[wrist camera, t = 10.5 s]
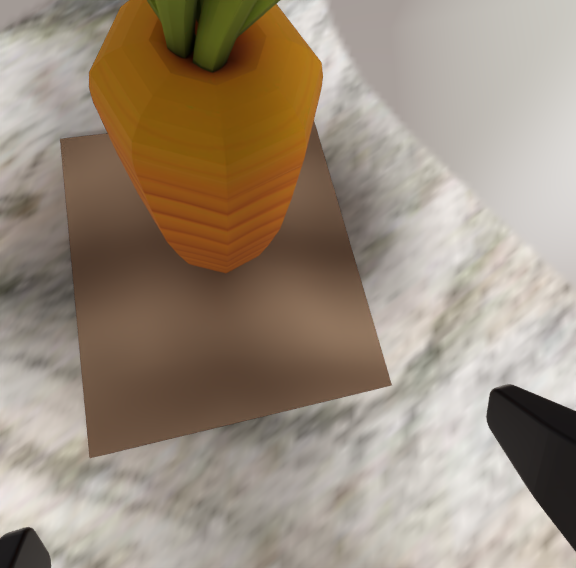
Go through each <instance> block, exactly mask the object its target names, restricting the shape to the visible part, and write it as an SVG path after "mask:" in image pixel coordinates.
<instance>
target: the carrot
mask: <svg viewBox="0 0 576 568" xmlns="http://www.w3.org/2000/svg"><path fill="white" fill-rule="evenodd" d="M279 1H280V0H129V1H128V2H126V3H125V4H124V5H123V6H121V7H120V10H119V12H118V14H117V16H116V18H115V20H114V22H113V24H112V26H111V28H110V30H109V32H108V34H107V36H106V38H105V40H104V43H103V45H102V47H101V49H100V51H99V53H98V55H97V57H96V59H95V61H94V63H93V65H92V67H91V69H90V71H89V89H90V93H91V96H92V100H93V103H94V105H95V107H96V109H97V111H98V113H99V116H100V118H101V120H102V122H103V124H104V126H105V128H106V131H107V133H108V135H109V137H110V139H111V141H112V143H113V146H114V148H115V150H116V152H117V154H118V156H119V158H120V160H121V162H122V164H123V166H124V168H125V170H126V172H127V173H128V175H129V177H130V179H131V181H132V183H133V185H134V187H135V189H136V191H137V193H138V194H139V196H140V198H141V199H142V201H143V203H144V204H145V206H146V208H147V209H148V211H149V213H150V214H151V216H152V218H153V219H154V221H155V223H156V224H157V226H158V228H159V229H160V231H161V233H162V234H163V236H164V238H165V239H166V241H167V242H168V243H169V245H170V246H171V247H172V248H173V249H174V250H175V251H176V253H177V254H178V255H179V256H180V257H182V258H183V259H184V260H185V261H186V262H187V263H188V264H191V265H194V266H198V267H202V268H206V269H210V270H214V271H218V272H222V273H228V272H230V271H232V270H233V269H235V268H237V267H239V266H241V265H243V264H245V263H246V262H248V261H250V260H252V259H254V258H256V257H257V256H259V255H260V254H261V253H262V252H263V251H264V249H265V248H266V247H267V246H268V245H269V244H270V242H271V241H272V240H273V238H274V237H275V235H276V234H277V233H278V231H279V230H280V228H281V225H282V223H283V220H284V217H285V215H286V212H287V209H288V207H289V204H290V202H291V199H292V196H293V193H294V189H295V186H296V183H297V180H298V177H299V174H300V171H301V167H302V164H303V161H304V158H305V154H306V150H307V146H308V142H309V138H310V133H311V129H312V125H313V121H314V117H315V113H316V109H317V105H318V101H319V96H320V92H321V87H322V80H323V72H322V63H321V61H320V60H319V59H318V57H317V56H316V55H315V53H314V52H313V51H312V50H311V48H310V47H309V46H308V44H307V43H306V42H305V40H304V39H303V38H302V37H301V35H300V34H299V33H298V31H297V30H296V29H295V27H294V26H293V25H292V24H291V22H290V21H289V20H288V18H287V17H286V16H285V14H284V13H283V12H282V11H281V9H280V8H279V7H278V5H277V4H276V3H278V2H279Z"/></svg>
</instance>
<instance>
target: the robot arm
mask: <svg viewBox="0 0 576 568" xmlns="http://www.w3.org/2000/svg"><path fill="white" fill-rule="evenodd" d="M486 418H487V423H488V426H489V428H490V430H491V431H492V433H493V435H494V436H495V438H496V439H497V441H498V442H499V444H500V446H501V447H502V449H503V450H504V452H505V453H506V455H507V457H508V458H509V460H510V461H511V463H512V464H513V466H514V468H515V469H516V471H517V472H518V474H519V475H520V477H521V479H522V480H523V482H524V483H525V485H526V486H527V488H528V489H529V491H530V492H531V494H532V495H533V497H534V498H535V499H536V501H537V502H538V503H539V505H540V506H541V507H542V509H543V510H544V511H545V512H546V514H547V515H548V516H549V518H550V519H551V520H552V522H553V523H554V524H555V525H556V527H557V528H558V529H559V531H560V532H561V533H562V534H563V536H564V537H565V538H566V540H567V541H568V542H569V544H570V545H571V546H572V547H573V549H574V550H575V551H576V411H574V410H572V409H570V408H567V407H565V406H562V405H560V404H558V403H555V402H553V401H551V400H548V399H546V398H543V397H541V396H539V395H536V394H534V393H531V392H529V391H527V390H524V389H522V388H519V387H517V386H514V385H511V384H508V385H503V386H500V387H497V388H494V389H492V391H491V392H490V396H489V402H488V409H487V416H486ZM0 568H51V559H50V555H49V553H48V551H47V549H46V548H45V546H44V545H43V543H42V541H41V540H40V538H39V537H38V535H37V534H36V532H35V531H34V529H32V528H30V527H26V528H22V529H19V530H16V531H12V532H9V533H7V534H5V535H3V536H2V537H1V538H0Z"/></svg>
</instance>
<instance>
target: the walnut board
mask: <svg viewBox="0 0 576 568" xmlns="http://www.w3.org/2000/svg"><path fill="white" fill-rule="evenodd" d="M60 143H61V154H62V165H63V176H64V187H65V198H66V208H67V219H68V230H69V241H70V252H71V262H72V273H73V284H74V295H75V306H76V317H77V327H78V338H79V349H80V360H81V371H82V381H83V392H84V403H85V414H86V425H87V436H88V446H89V457H90V458H92V457H97V456H101V455H105V454H110V453H114V452H118V451H122V450H126V449H130V448H134V447H139V446H143V445H147V444H151V443H155V442H159V441H163V440H168V439H172V438H176V437H180V436H184V435H188V434H192V433H197V432H201V431H205V430H209V429H213V428H217V427H221V426H226V425H230V424H234V423H238V422H242V421H246V420H250V419H255V418H259V417H263V416H267V415H271V414H275V413H279V412H284V411H288V410H292V409H296V408H300V407H304V406H308V405H313V404H317V403H321V402H325V401H329V400H333V399H337V398H342V397H346V396H350V395H354V394H358V393H362V392H367V391H371V390H375V389H379V388H383V387H387V386H391V385H392V384H391V381H390V377H389V374H388V371H387V367H386V364H385V360H384V357H383V354H382V350H381V347H380V343H379V340H378V337H377V333H376V330H375V326H374V323H373V320H372V316H371V313H370V309H369V306H368V303H367V299H366V296H365V292H364V289H363V286H362V282H361V279H360V275H359V272H358V269H357V265H356V262H355V258H354V255H353V252H352V248H351V245H350V241H349V238H348V235H347V231H346V228H345V224H344V221H343V218H342V214H341V211H340V207H339V204H338V201H337V197H336V194H335V190H334V187H333V184H332V180H331V177H330V173H329V170H328V167H327V163H326V160H325V156H324V153H323V150H322V146H321V143H320V139H319V136H318V133H317V129H316V126H315V122H314V121H313V125H312V129H311V133H310V138H309V142H308V146H307V150H306V154H305V158H304V161H303V164H302V167H301V171H300V174H299V177H298V180H297V183H296V186H295V189H294V193H293V196H292V199H291V202H290V204H289V207H288V209H287V212H286V215H285V217H284V220H283V223H282V225H281V228H280V230H279V231H278V233H277V234H276V235H275V237H274V238H273V240H272V241H271V242H270V244H269V245H268V246H267V247H266V248H265V249H264V251H263V252H262V253H261V254H260V255H259V256H257V257H256V258H254V259H252V260H250V261H248V262H246V263H245V264H243V265H241V266H239V267H237V268H235V269H233V270H232V271H230V272H228V273H222V272H218V271H214V270H210V269H206V268H202V267H198V266H194V265H191V264H188V263H187V262H186V261H185V260H184V259H183V258H182V257H180V256H179V255H178V254H177V253H176V251H175V250H174V249H173V248H172V247H171V246H170V245H169V243H168V242H167V241H166V239H165V238H164V236H163V234H162V233H161V231H160V229H159V228H158V226H157V224H156V223H155V221H154V219H153V218H152V216H151V214H150V213H149V211H148V209H147V208H146V206H145V204H144V203H143V201H142V199H141V198H140V196H139V194H138V193H137V191H136V189H135V187H134V185H133V183H132V181H131V179H130V177H129V175H128V173H127V172H126V170H125V168H124V166H123V164H122V162H121V160H120V158H119V156H118V154H117V152H116V150H115V148H114V146H113V143H112V141H111V139H110V137H109V135H108V133H106V134H98V135H89V136H80V137H72V138H63V139H60Z"/></svg>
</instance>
